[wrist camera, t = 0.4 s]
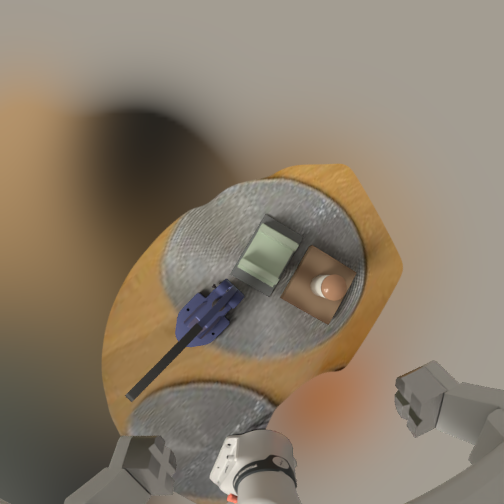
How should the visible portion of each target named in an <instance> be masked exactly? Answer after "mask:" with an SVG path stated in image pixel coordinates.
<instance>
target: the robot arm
mask: <svg viewBox="0 0 504 504" xmlns="http://www.w3.org/2000/svg"><path fill="white" fill-rule="evenodd" d="M395 386H396V387H397V389H398V391H397V392H396V394H395V405H396V409H397V411H398V413H399V415H400V416H401V418H404V419H406V420H408V421H407V427H408V428H409V430H410V431H411V433H412V434H413V436H414V437H415V438H416V437H418V436H420V435H422V434H424V433H426V432H428V431H430V430H432V429H434V428H436V429H437V430H439V431H442V432H444V433H446V434H449V435H452V436H454V437H456V438H458V439H461V440H463V441H466V442H468V443H471V444H474V445H475V446H474V448H473V450H472V452H471V454H470V456H469V461H470V463H471V464H472V465H471V466H470V467H468V468H467V469H466V470H464V471H462V472H461V473H459V474H458V475H456V476H454V477H453V478H451V479H449V480H448V481H446V482H444V483H443V484H441V485H439V486H438V487H436V488H434V489H432V490H431V491H429V492H427V493H425V494H423V495H421V496H419V497H417V498H415V499H413V500H411V501H409V502H407V503H405V504H504V390H500V389H494V388H489V387H484V386H479V385H474V384H469V383H464V382H462V383H461V384H459V383H458V382H457V381H456V380H455V379H454V378H453V377H452V376H451V375H450V374H449V373H448V372H447V371H446V370H445V369H444V368H443V367H442V366H441V365H440V364H438V363H437V362H436V361H431V362H429V363H427V364H425V365H423V366H421V367H419V368H417V369H415V370H412V371H410V372H408V373H406V374H404V375H402V376H399V377H398V378H397V379H396V385H395ZM228 444H231V445H228ZM296 466H297V463H296V460H295V458H294V457H293V447H292V444H291V442H290V441H289V439H288V438H287V437H285V436H284V435H283V434H281V433H279V432H276V431H272V430H255V431H251V432H248V433H245V434H242V435H231V436H227V437H226V438H225V441H224V443H223V446H222V448H221V450H220V453H219V455H218V457H217V460H216V462H215V464H214V467H213V469H212V471H211V473H210V479H211V480H212V481H213V482H214V483H215V484H216V485H218V486H219V488H220V489H221V490H222V491H223V492H224V493H226V494H228V495H229V496H228V497H227V501H230V502H234V503H237V504H302V503H301V501H300V499H299V497H298V494H297V491H296V487H297V483H296V476H295V467H296ZM176 467H177V464H176V458H175V455H174V453H173V451H172V450H171V449H170V448H168V447H166V446H165V440H164V439H163V438H162V436H159V435H152V436H122V437H120V438H119V441H118V443H117V446H116V449H115V452H114V454H113V457H112V460H111V463H110V466H109V468H104V469H103V470H102V471H101V472H99V473H98V474H97V475H96V476H95V477H93V478H92V479H91V480H89V481H88V482H87V483H86V484H84V485H83V486H82V487H80V488H79V489H78V490H77V491H75V492H74V493H73V494H71V495H70V496H69V497H67V498H66V499H65V502H64V504H146V502H147V501H148V500H149V499H150V497H151V495H173V489H174V482H175V481H174V480H173V478H172V477H171V476H172V475H173V474H174V473H175V472H176ZM0 504H9V503H7V502H5V501H3V500H2V499H0Z"/></svg>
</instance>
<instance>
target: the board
mask: <svg viewBox="0 0 504 504" xmlns="http://www.w3.org/2000/svg"><path fill="white" fill-rule="evenodd" d="M332 274H336V275H340V276H341V277H343V278H344V280H345V282H346V285H347V289H346V292H347V290H348V289H349V287H350V285H351V283H352V281H353V279H354V277H355V275H356V272H355V271H353V270H352V269H350V268H349V267H347V266H345V265H344V264H342V263H340V262H339V261H337V260H336V259H334V258H332V257H331V256H329V255H327V254H326V253H324V252H323V251H321V250H319V249H318V248H316V247H314V246H313V245H311V246H309V247H308V249H307V251H306V253H305V255H304V256H303V258H302V260H301V262H300V264H299V265H298V267H297V269H296V271H295V272H294V274H293V276H292V278H291V279H290V281H289V283H288V285H287V286H286V288H285V290H284V292H283V293H282V295H281V297H280V298H282V299H283V300H285V301H287V302H289V303H290V304H292V305H294V306H296V307H297V308H299V309H301V310H303V311H304V312H306V313H308V314H310V315H312V316H313V317H315V318H317V319H319V320H321V321H322V322H324V323H326V324H328V325H329V323H330V321H331V319H332V318H333V316H334V314H335V312H336V310H337V309H338V307H339V305H340V303H341V301H342V300H343V298H344V296H345V295H344V296H343V297H342V298H341V299H339V300H336V301H332V300H329V299H327V298H324V297H320V296H317V295H315V294H314V293H313V292H312V290H311V287H310V285H311V281H312V279H313V278H314V277H315V276H317V275H332ZM345 294H346V293H345Z"/></svg>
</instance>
